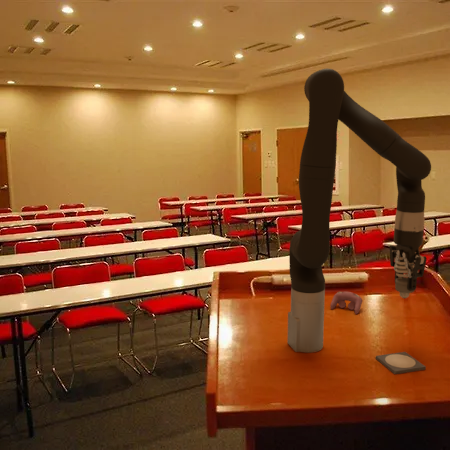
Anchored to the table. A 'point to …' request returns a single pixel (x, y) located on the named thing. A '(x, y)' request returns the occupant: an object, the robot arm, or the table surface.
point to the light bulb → (402, 279)
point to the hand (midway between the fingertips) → (404, 286)
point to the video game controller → (347, 296)
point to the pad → (400, 362)
